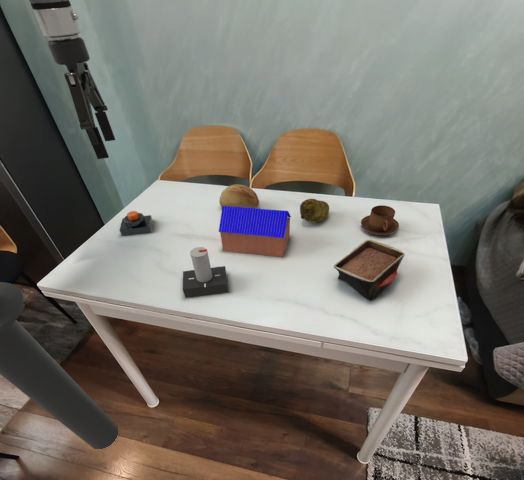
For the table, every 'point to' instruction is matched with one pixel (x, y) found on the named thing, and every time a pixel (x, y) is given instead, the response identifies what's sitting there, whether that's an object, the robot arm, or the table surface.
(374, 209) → the cup and saucer
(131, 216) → the button
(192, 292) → the timer panel
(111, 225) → the table surface
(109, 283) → the table surface
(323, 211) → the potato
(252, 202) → the bread roll
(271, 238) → the house
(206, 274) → the timer dial
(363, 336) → the table surface
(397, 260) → the baking dish
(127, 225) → the button block
